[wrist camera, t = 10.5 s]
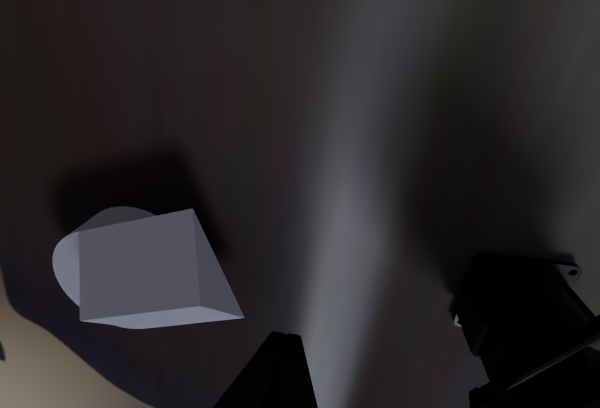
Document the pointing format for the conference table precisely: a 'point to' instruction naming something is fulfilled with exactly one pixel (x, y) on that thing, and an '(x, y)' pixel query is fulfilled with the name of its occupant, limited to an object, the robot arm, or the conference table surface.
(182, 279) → the wedge on round base
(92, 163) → the conference table surface
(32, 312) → the conference table surface
